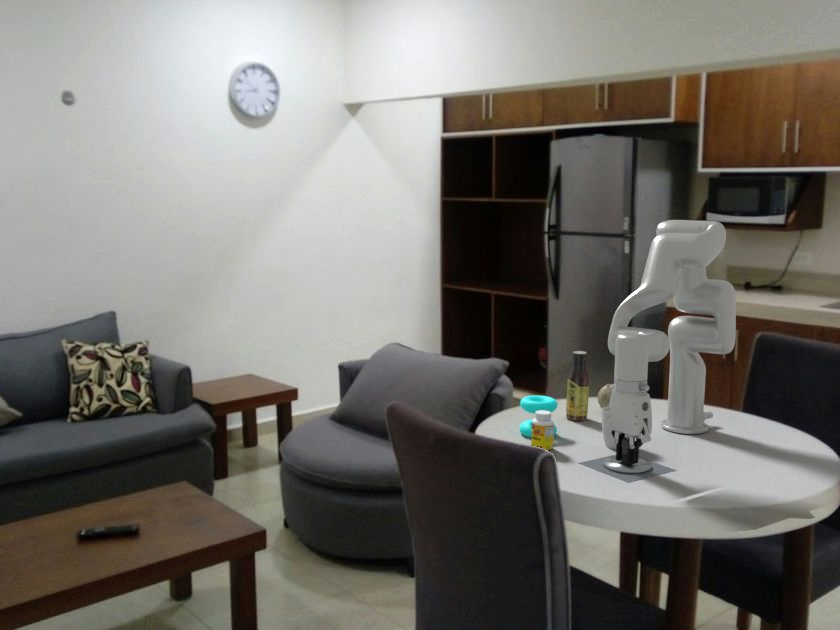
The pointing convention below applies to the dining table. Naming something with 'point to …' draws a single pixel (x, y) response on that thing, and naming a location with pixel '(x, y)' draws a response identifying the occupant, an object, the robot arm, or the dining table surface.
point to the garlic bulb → (605, 395)
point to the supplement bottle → (542, 430)
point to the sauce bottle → (578, 388)
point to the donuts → (533, 405)
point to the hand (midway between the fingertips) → (626, 461)
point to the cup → (606, 433)
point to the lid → (622, 465)
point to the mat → (655, 470)
